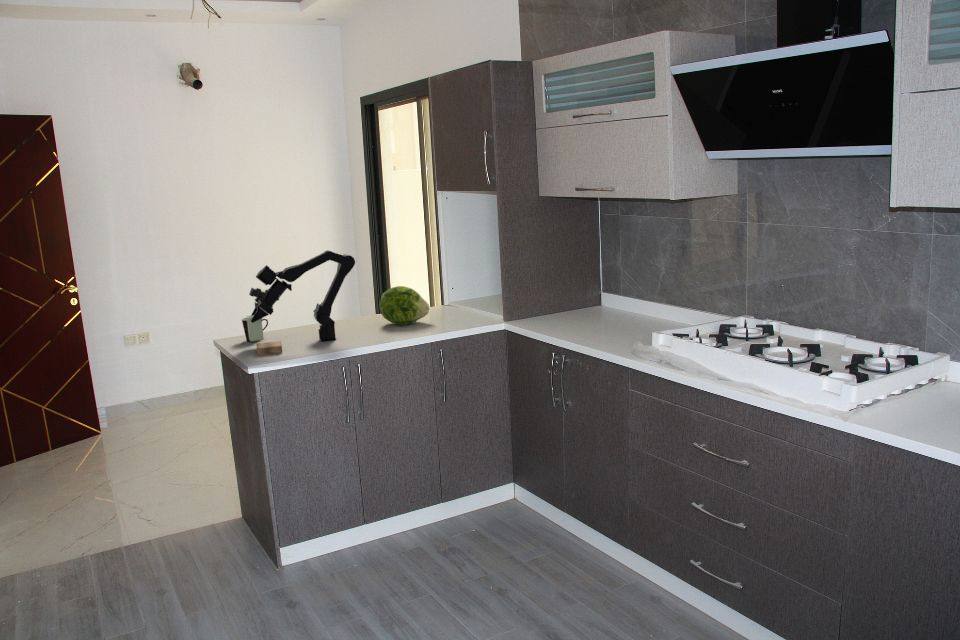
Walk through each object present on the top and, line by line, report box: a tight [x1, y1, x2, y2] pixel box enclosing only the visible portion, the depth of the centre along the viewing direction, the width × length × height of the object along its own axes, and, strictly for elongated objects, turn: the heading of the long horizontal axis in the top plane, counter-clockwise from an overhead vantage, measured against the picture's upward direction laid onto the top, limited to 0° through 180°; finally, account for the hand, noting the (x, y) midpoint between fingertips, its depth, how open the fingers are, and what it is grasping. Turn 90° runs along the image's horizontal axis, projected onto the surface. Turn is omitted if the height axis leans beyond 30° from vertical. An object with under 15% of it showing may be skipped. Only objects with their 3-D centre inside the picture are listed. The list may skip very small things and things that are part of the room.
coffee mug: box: [241, 317, 269, 343], centre depth 354 cm, size 12×9×10 cm
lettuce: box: [379, 285, 430, 326], centre depth 374 cm, size 19×23×18 cm
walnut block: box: [256, 340, 283, 357], centre depth 330 cm, size 10×10×4 cm
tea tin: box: [246, 314, 265, 342], centre depth 337 cm, size 6×6×10 cm
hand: (250, 320), depth 336 cm, fingers closed on tea tin, 5 cm apart
